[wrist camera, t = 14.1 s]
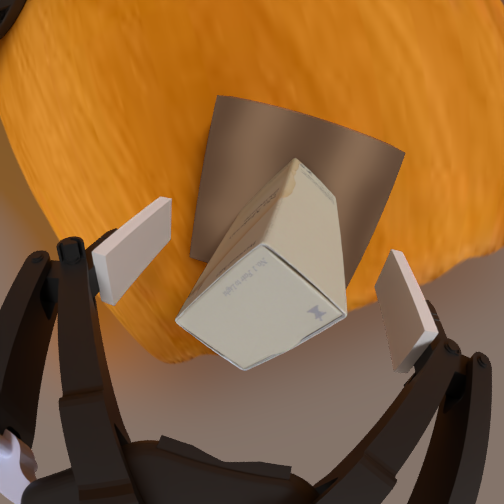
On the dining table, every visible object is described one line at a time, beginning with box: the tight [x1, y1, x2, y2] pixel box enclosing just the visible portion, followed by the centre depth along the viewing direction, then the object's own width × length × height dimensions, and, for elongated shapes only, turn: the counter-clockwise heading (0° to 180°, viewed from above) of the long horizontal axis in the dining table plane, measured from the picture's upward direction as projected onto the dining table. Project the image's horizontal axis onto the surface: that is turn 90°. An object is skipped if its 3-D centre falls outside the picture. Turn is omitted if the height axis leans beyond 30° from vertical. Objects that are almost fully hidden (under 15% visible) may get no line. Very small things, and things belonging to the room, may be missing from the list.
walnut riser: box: [190, 95, 405, 289], centre depth 23 cm, size 14×14×5 cm
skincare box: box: [175, 158, 347, 371], centre depth 16 cm, size 6×4×12 cm
